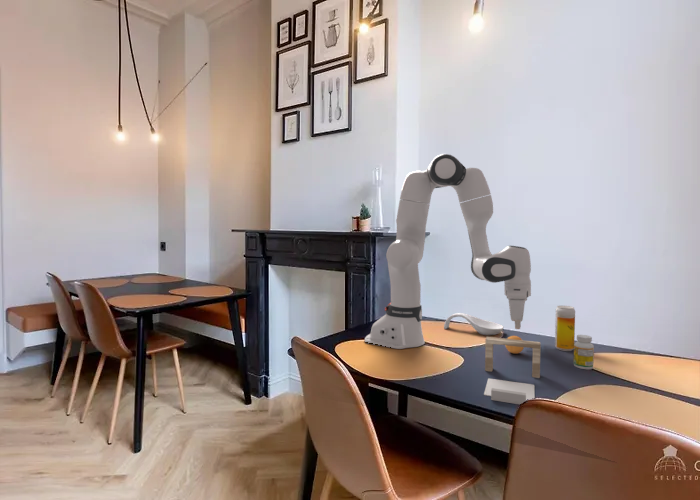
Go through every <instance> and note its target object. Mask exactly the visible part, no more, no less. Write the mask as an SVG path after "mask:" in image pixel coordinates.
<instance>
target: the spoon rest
mask: <svg viewBox="0 0 700 500" xmlns="http://www.w3.org/2000/svg"><path fill="white" fill-rule="evenodd" d="M454 318H463V319H465V320H466V321H467V322H468V323H469V324H470V325H471V327H473V329H474V330H475V331H476V332H477V333H478V334H479V335H484V336H495V335H497V334H500V333H501V332H502V331H503V330H504V326H503V325H502V324H499V323H497V322H494V321H490V320H485V319H482V318H480V317H476V316H473V315H470V314H467V313H463V312H455V313H454V314H451V315H449V316H448V317H447V318H446V320H445V321H444V324H443V329H444V330H447V329H449V328H450V324H451V323H450V322H451V320H453V319H454Z"/></svg>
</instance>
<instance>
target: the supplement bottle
mask: <svg viewBox="0 0 700 500" xmlns="http://www.w3.org/2000/svg"><path fill="white" fill-rule="evenodd" d="M592 341H593V337H592V336H590V335H588V334H577V335H576V341H574V349H573V366H574V367H575V368H577V369H581V370H593V368H594V357H595V356H594V355H595V346H594V344H593V343H592Z"/></svg>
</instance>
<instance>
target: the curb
mask: <svg viewBox="0 0 700 500" xmlns="http://www.w3.org/2000/svg"><path fill="white" fill-rule="evenodd" d="M490 400H491V401H496V402H502V403H508V404H509V403H510V404H513V405H514V404H515V405H520V404H521V403H523V402H524V401H526V393H522V392H515V391H509V390H502V389H495V388H492V390H491V396H490Z"/></svg>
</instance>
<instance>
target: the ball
mask: <svg viewBox="0 0 700 500" xmlns="http://www.w3.org/2000/svg"><path fill="white" fill-rule="evenodd" d="M506 339H514V340H523V339H522V338H521V337H520V336H517V335H510V336H508V337H507V338H506ZM504 346H505V349H506V350H507V351H508V352H509V353H511V354H514V355H516V354H520V353H521V352H523V350H524V348H525V347H517V346H508V345H504Z"/></svg>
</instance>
